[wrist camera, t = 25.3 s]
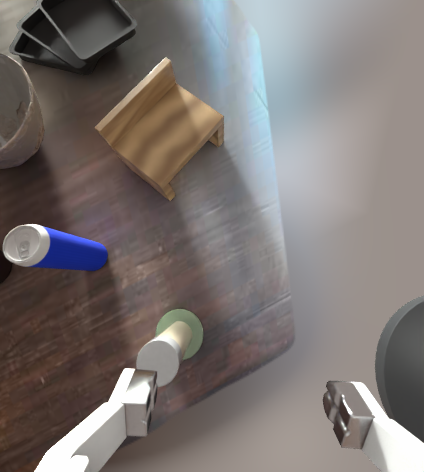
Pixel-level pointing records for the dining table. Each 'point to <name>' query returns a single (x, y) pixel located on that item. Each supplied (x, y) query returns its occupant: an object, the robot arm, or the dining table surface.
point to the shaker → (166, 352)
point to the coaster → (188, 319)
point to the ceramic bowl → (18, 115)
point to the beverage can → (52, 249)
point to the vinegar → (4, 266)
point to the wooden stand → (160, 128)
